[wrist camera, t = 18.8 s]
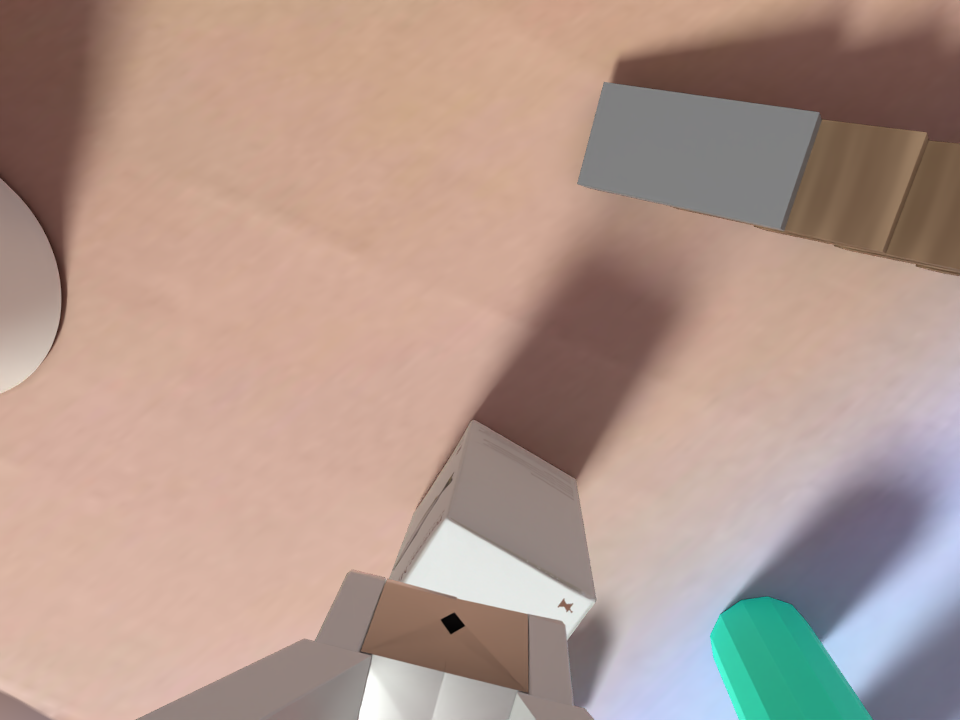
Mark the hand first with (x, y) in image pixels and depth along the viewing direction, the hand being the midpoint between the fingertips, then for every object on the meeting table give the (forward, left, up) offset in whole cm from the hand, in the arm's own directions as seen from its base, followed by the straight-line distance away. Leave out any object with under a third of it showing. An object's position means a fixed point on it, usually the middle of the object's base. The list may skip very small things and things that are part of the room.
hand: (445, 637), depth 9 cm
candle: (+20, -16, -29) cm, 39 cm away
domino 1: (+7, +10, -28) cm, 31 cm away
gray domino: (+2, +10, -28) cm, 30 cm away
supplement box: (+2, -11, -29) cm, 31 cm away
